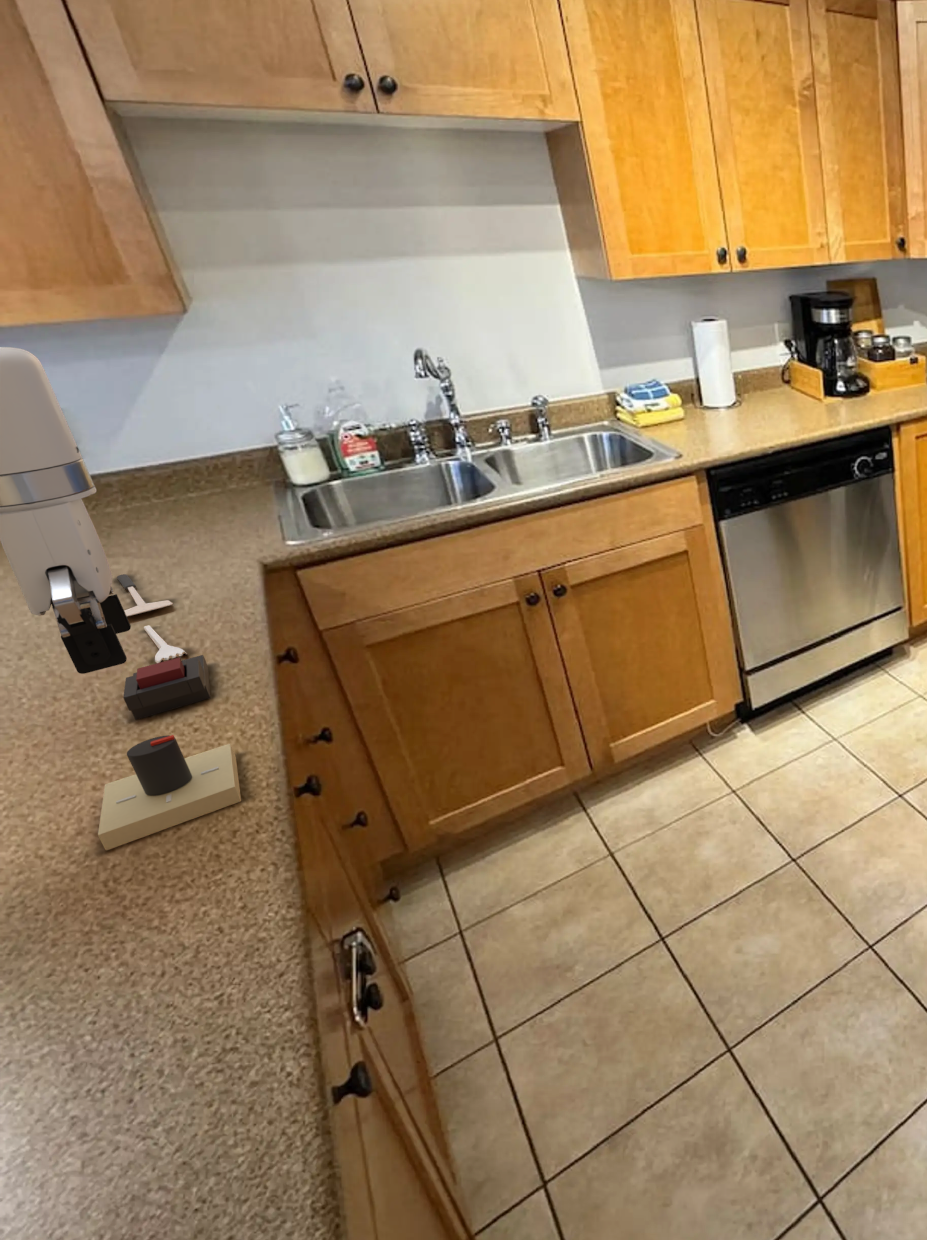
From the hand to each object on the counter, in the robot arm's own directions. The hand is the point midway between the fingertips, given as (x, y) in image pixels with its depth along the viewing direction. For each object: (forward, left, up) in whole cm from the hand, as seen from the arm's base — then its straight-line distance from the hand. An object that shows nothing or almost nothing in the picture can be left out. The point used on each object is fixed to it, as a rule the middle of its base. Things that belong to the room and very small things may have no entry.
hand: (107, 650), depth 76 cm
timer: (0, 0, -18) cm, 18 cm away
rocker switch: (-10, +30, -18) cm, 37 cm away
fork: (-17, +48, -18) cm, 54 cm away
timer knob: (0, 0, -16) cm, 16 cm away
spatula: (-30, +76, -18) cm, 84 cm away
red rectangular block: (-9, +26, -15) cm, 31 cm away
